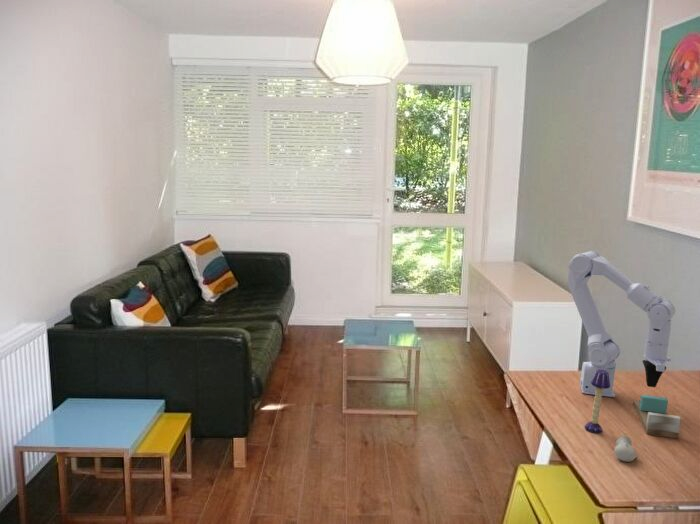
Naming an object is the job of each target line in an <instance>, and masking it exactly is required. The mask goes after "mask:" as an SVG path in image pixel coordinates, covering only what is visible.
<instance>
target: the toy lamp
mask: <svg viewBox="0 0 700 524" xmlns="http://www.w3.org/2000/svg"><path fill="white" fill-rule="evenodd" d="M591 384H592V385H593V386H595V387H596V392H595V395H594V397H593V400H594V401H593V405H592V406H593V407H592V413H591V419H590V421H589V422H587V423H586V424H585V425H584V429H585V430H586V431H588V432H589V433H594V434H600V433H602V432H603V429H602V426H601V425H600V423H599V417H600V411H601V407H602V406H601V405H602V404H601V402H602V397H603V396H602V391H603V389H607V388H609V387H610V380H609V373H608V372H607V371H606V370H601V369H598V370H596V372H595V374H594V376H593V379H592V381H591Z"/></svg>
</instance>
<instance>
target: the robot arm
mask: <svg viewBox="0 0 700 524" xmlns="http://www.w3.org/2000/svg"><path fill="white" fill-rule="evenodd" d="M567 267H568V275H567V286H568V288H569V292H570V293H571V294H570V295H571V296H572V299H573V301H574V304H575V307H576V308H577V311H578V314H579V316H580V319H581V322H582V324H583V327H584V329H585V331H586V333H587V337H588V340H587V348H588V358H589V360H590V361H582V366H581V370H580V371H581V372H580V381H579V386H580V389H581V393H583V394H585V395H586V394H587V395H593V396H595V392H596V387H595V386H593V385H592V384H591V381H592V379H593V376H594V374H595V372H596V370H598V369H601V370H606V371H607V372H608V373H609V380H610V387H609V388H607V389H603V391H602V396H601V397H608V398H609V397H610V398H616V394H615V392H614V381H615V375H616V366H617V364H616V359H617V358H618V357H620V353H621V350H620V347H619V346H620V345H618V344H617V343H616V342H615V341H614V340H613V337H612V335H611V334H610V333H608V332H607V331H606V328H605V326H604V323H603V320H602V318H601V316H600V313H599V310H598V309H597V305H596V303H595V300H594V299H593V296H592V293H591V291H590V288H589V286H588V282H589V281H590V279H591V277H592V276H603V277H604V278H606V279H607V280H609V281H611V282H612V283H613V284H614V285H616V286H618V287H619V288H620V289H621V290H622V291H624V292H626V298H627V299H628V300H629V301H631V302H632V303H633V304H634V305H636V306H637V307H639V309H641V310H642V311H644V313H647V315H646V316H647V318H648V319H649V321H648V322H649V323H648V327H647V333H646V341H645V346H644V353H643V360H642V361H641V362H642V363H643V367H644V371H645V380H646V385H647V387H648V388H649V387H650V388H656V387H657V385H658V382H659V380H660V378H661V376H662V375H663V373H664V372H665V371H666V369H667V367H666V364H667V362H671V360H672V358H671V357H669V356H667V355H668V350H669V343H670V335H671V328H672V327H671V325H672V318H673V317H674V316H675V314H676V307H675V306H674V304H673V303H672V302H671V301H670V300H668V299H664V298H663V297H662V296H660V295H659V296H658V295H657V294H656V293H655V292H653V291H652V290H650V286H649V285H648V284H643V283H640V282H637V283H635V282H633V281H632V280H630V278H629V277H627V275H625V274H624V273H622V272H621V270H620V269H618V268H617V267H616V266H615V265H613V264H612V263H611V262H609V260H608V259H607V258H606V257H605V256H602V255H600V254H599V252H597V251H595V250H588V251H585V252H582V253H578V254H575V255H574V256H573V257H572V258H571V260H569V263H568V264H567Z"/></svg>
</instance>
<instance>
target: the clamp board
mask: <svg viewBox="0 0 700 524" xmlns="http://www.w3.org/2000/svg"><path fill="white" fill-rule="evenodd" d="M640 401H641V400H638V399H633V401H632V407H633V408H634V410H635V412H636V414H637V417H638V419H639V421H640V423H641V425H642V428H643V430H644V432H645V433H646V435H652V436H657V437H658V436H659V437H664V438H665V437H667V438H672V439H679V434H680V433H679V430H680V427H681V426H680V424H681V419H682V418H681V417H680V416H679V415H672V414H668V413H667V412H666V414H664V413H656V412H649V411H642V410H640Z"/></svg>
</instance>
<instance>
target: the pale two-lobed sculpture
mask: <svg viewBox="0 0 700 524" xmlns="http://www.w3.org/2000/svg"><path fill="white" fill-rule="evenodd" d="M614 454H615V456H616V458H617V459H618V460H620V461H623V462H629V463H630V462H632V461H634V460H635V458H637V456H638V455H637V453H636V451H635V448H634V447H633V446H632V440H631V438H630V437H629V436H627V435H621V436H620V437H618V438H617V439H616V441H615V447H614Z"/></svg>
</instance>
